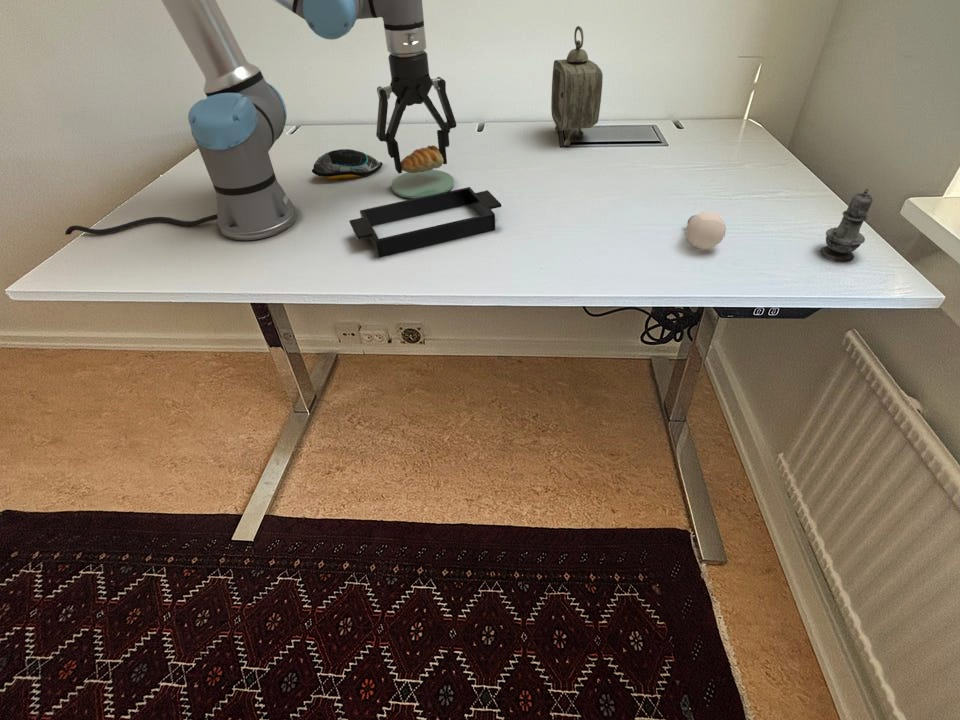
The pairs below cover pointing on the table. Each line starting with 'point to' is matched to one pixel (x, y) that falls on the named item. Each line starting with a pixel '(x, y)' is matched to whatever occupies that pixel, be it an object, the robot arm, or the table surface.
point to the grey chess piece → (848, 230)
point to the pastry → (422, 160)
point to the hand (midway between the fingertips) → (421, 166)
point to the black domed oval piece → (345, 164)
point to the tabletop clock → (576, 91)
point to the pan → (430, 235)
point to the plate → (422, 184)
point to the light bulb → (705, 230)
